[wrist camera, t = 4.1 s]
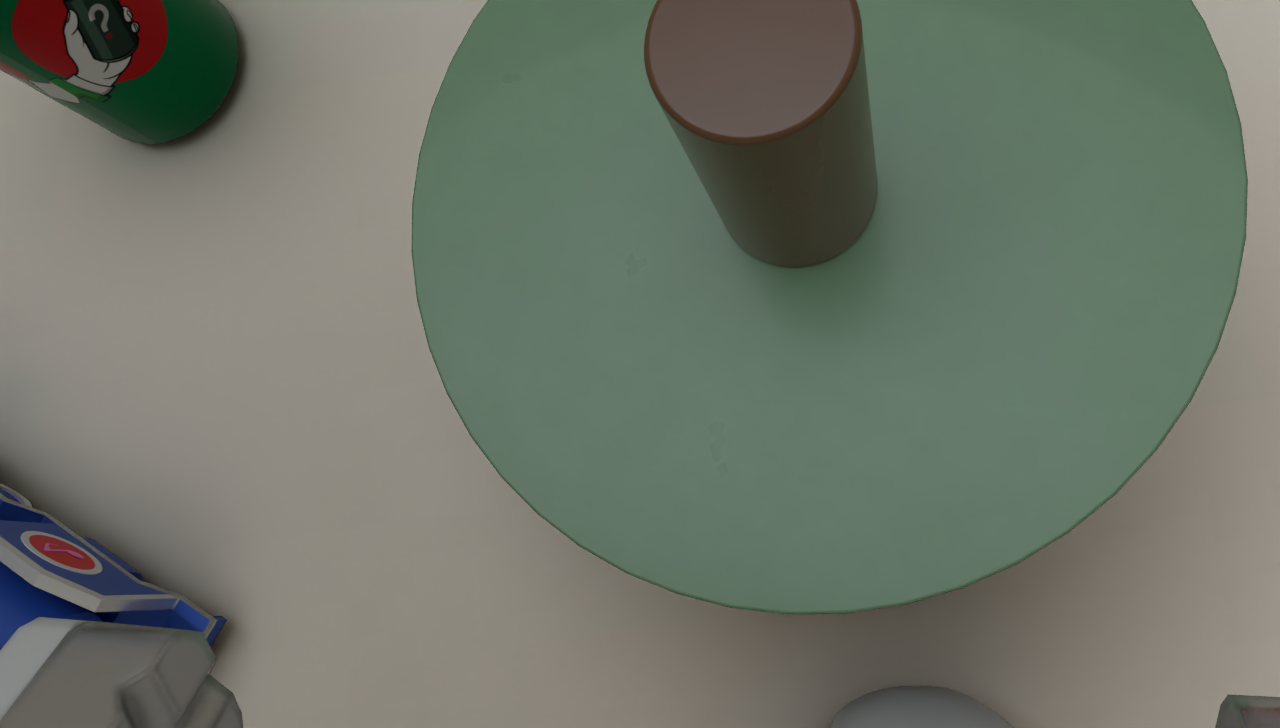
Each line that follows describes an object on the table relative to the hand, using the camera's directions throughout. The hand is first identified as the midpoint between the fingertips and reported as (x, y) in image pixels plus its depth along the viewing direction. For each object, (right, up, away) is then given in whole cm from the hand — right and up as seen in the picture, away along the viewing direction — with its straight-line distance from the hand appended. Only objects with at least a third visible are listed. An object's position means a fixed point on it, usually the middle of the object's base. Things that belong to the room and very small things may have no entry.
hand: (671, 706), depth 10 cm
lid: (+2, +5, +11) cm, 12 cm away
